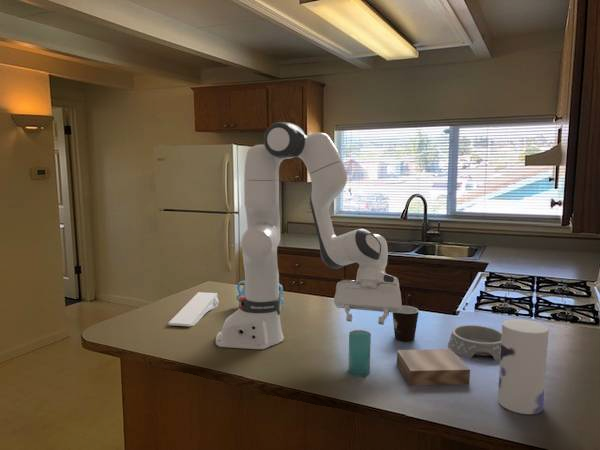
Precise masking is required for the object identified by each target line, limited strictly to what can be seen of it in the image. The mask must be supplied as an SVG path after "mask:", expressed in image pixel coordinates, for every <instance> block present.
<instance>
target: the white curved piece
mask: <svg viewBox="0 0 600 450" xmlns="http://www.w3.org/2000/svg"><path fill="white" fill-rule="evenodd" d="M218 305H219V298H218V293H217V292H203V291H199V292H196V293H195V295H194V296H193V297H192V298H191V299H190V300H189V301H188V302H187V303H186V304H185V305H184V306H183V307H182V308H181V309H180V311H178V312H177V313H176V314H175V316H173V317H172V318H171V319H170V321H168V326H178V327H179V326H180V327H192V326H193V327H194V326H195V324H197V323H198V322H199V321H200V320H201V319H203V318H202V317H203V316H205V314H206V313H208V312H209V311H212V310H213V309H215V308H216V307H218Z"/></svg>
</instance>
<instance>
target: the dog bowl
mask: <svg viewBox="0 0 600 450" xmlns="http://www.w3.org/2000/svg"><path fill="white" fill-rule="evenodd" d="M501 337H502V331H500V330H499V329H496V328H492V327H489V326H484V325H479V324H478V325H476V324H475V325H474V324H463V325H458V326H456V327H454V328H453V329H452V330H451V335H450V336H449V341H448V343H447V347H448V349H451V350H452V351H453V352H454V353H455V354H456V355H459V356H463V357H464V358H469V359H472V358H473V356H474V355H476V356H481V357H485V356H486V357H490V356H492V358H493V360H494V361H498V360H499V361H500V354H501Z"/></svg>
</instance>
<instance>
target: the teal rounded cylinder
mask: <svg viewBox="0 0 600 450" xmlns="http://www.w3.org/2000/svg"><path fill="white" fill-rule="evenodd" d="M371 338H372V334H371V332H370V331H368V330H362V329H356V330H355V329H354V330H350V331H349V333H348V373H349V374H350V375H352V376H356V377H365V376H368V375H369V374H371V346H372V345H371V341H372V339H371Z"/></svg>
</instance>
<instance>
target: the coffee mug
mask: <svg viewBox="0 0 600 450" xmlns="http://www.w3.org/2000/svg"><path fill="white" fill-rule="evenodd" d="M419 312H420V310H419V309H418V308H417V307H414V306H411V305H402V309H401V311H400V312H399V313H392V320H393V331H394V332H393V333H394V339H395V340H396V341H399V342H403V343H404V342H405V343H410V342H414V340H415V338H416V337H415V336H416V331H417V323H418V319H419Z"/></svg>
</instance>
